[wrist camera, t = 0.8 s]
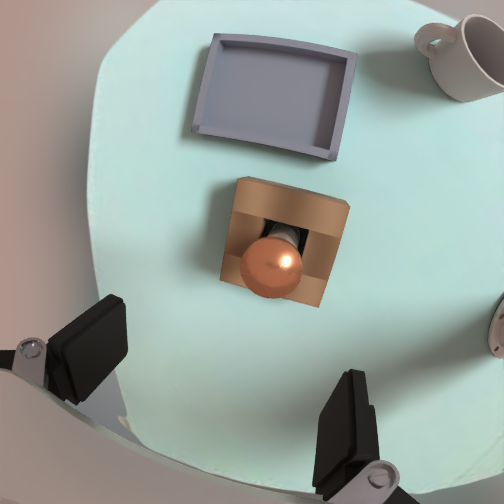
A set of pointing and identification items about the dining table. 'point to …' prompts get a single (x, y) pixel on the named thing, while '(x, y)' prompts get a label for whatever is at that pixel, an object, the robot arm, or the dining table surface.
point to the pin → (273, 262)
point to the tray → (275, 93)
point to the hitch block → (293, 213)
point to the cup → (465, 57)
